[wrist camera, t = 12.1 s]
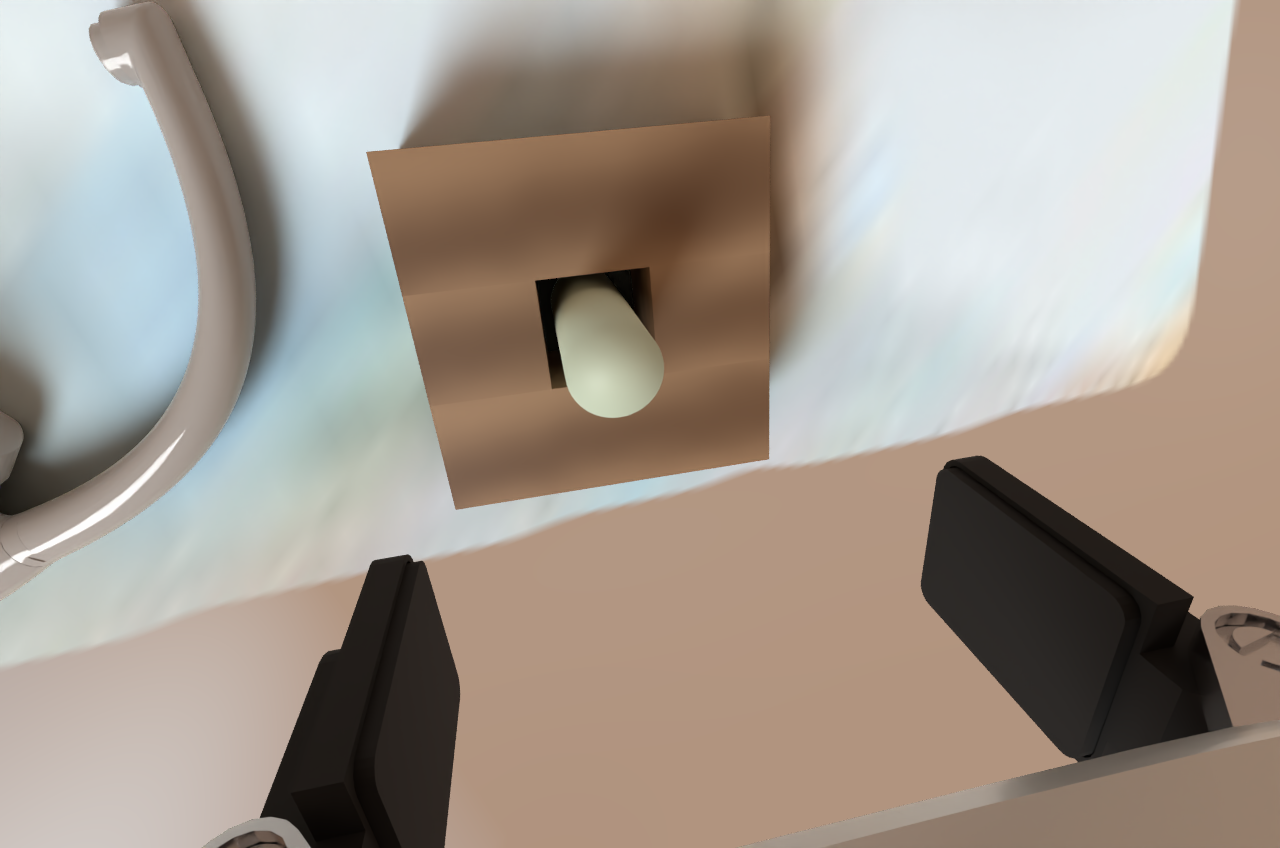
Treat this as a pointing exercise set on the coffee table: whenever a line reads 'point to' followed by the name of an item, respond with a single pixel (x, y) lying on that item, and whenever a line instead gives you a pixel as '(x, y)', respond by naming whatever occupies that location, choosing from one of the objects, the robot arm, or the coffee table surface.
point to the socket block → (578, 245)
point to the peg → (604, 347)
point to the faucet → (156, 61)
